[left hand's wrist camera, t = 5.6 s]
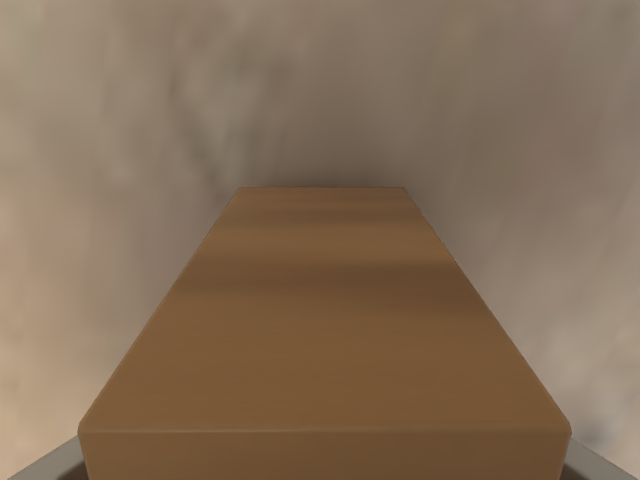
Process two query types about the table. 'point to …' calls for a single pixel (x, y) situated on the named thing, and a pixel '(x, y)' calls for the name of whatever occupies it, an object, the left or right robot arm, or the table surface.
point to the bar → (323, 358)
